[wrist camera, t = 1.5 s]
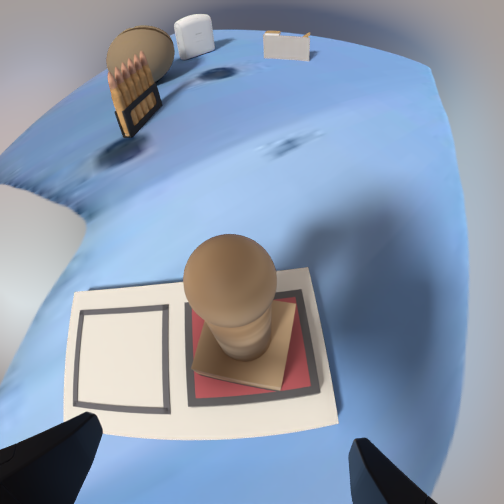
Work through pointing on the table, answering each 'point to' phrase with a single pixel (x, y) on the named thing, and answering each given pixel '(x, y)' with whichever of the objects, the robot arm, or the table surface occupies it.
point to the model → (286, 46)
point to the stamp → (238, 313)
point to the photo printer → (194, 35)
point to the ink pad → (229, 394)
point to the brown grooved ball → (146, 40)
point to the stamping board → (171, 369)
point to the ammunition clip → (134, 95)
